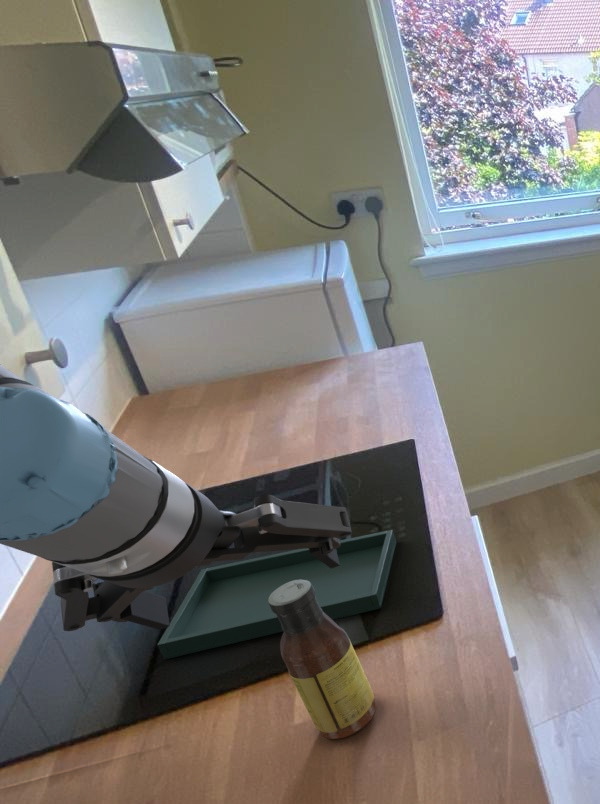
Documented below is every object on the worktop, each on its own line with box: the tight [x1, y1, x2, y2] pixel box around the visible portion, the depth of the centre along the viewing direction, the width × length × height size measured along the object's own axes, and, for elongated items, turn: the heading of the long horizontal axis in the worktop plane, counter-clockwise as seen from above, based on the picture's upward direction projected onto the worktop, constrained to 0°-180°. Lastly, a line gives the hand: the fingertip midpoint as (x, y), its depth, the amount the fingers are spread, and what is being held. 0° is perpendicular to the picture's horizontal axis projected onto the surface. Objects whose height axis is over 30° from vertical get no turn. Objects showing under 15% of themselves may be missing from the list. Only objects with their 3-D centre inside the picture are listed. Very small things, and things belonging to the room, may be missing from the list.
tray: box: [157, 529, 397, 660], centre depth 106 cm, size 26×16×3 cm, turn 109°
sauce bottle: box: [268, 580, 377, 740], centre depth 83 cm, size 6×6×20 cm
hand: (251, 582), depth 69 cm, fingers open, 13 cm apart
